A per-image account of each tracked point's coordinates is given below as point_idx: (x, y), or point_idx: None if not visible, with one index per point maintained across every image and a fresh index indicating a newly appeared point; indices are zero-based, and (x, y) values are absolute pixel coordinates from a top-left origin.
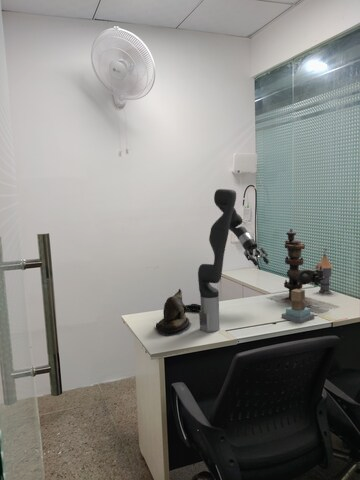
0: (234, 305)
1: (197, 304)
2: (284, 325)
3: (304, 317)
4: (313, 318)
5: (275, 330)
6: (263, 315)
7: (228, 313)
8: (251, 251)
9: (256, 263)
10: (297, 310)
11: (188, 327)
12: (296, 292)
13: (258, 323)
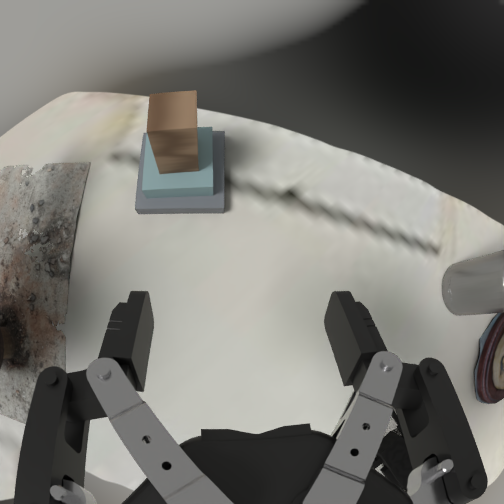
0: None
1: (398, 475)
2: (280, 159)
3: None
4: None
5: (334, 153)
6: (254, 280)
7: (340, 387)
8: (381, 491)
9: (355, 303)
10: (202, 143)
11: (489, 326)
12: (196, 105)
13: (334, 228)
